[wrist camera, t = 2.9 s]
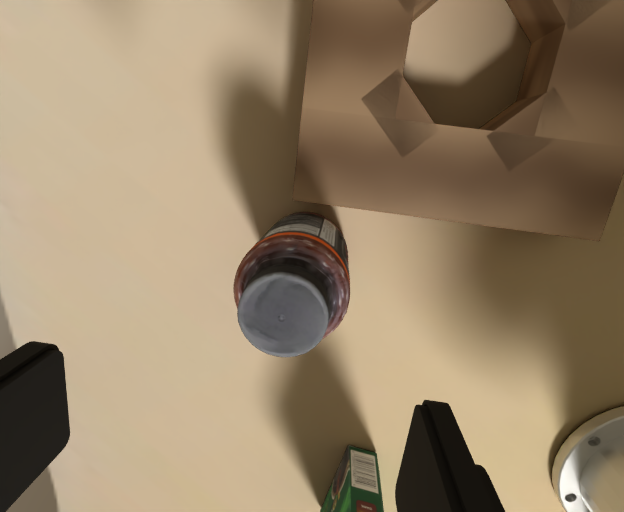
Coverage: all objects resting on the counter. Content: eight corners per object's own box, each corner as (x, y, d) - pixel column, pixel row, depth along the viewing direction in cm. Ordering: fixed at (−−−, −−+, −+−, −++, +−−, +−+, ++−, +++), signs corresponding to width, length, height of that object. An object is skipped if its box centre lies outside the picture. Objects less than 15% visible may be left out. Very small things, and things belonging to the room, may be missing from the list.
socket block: (564, 228, 24) (599, 241, 21) (299, 193, 25) (292, 200, 22) (694, -174, 18) (772, -246, 15) (342, -203, 19) (342, -277, 16)
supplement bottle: (339, 296, 27) (337, 392, 16) (260, 281, 27) (206, 366, 16) (355, 218, 25) (365, 266, 15) (272, 202, 26) (219, 239, 15)
